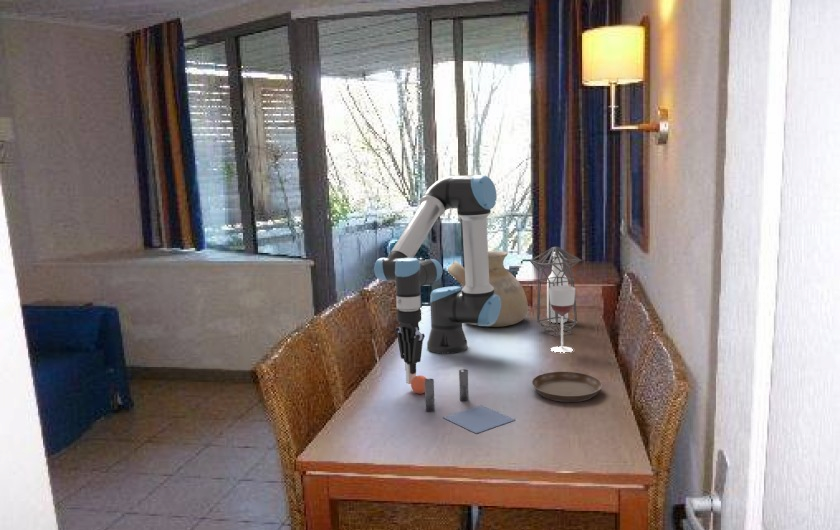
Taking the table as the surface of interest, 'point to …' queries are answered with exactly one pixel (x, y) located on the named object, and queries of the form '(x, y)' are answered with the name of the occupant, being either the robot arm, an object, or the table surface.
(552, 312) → the alcohol
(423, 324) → the table surface
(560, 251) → the geometric lantern
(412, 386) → the ball
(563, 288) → the wineglass
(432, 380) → the post
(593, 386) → the plant saucer
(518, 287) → the jug
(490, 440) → the table surface
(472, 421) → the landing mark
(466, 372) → the post
